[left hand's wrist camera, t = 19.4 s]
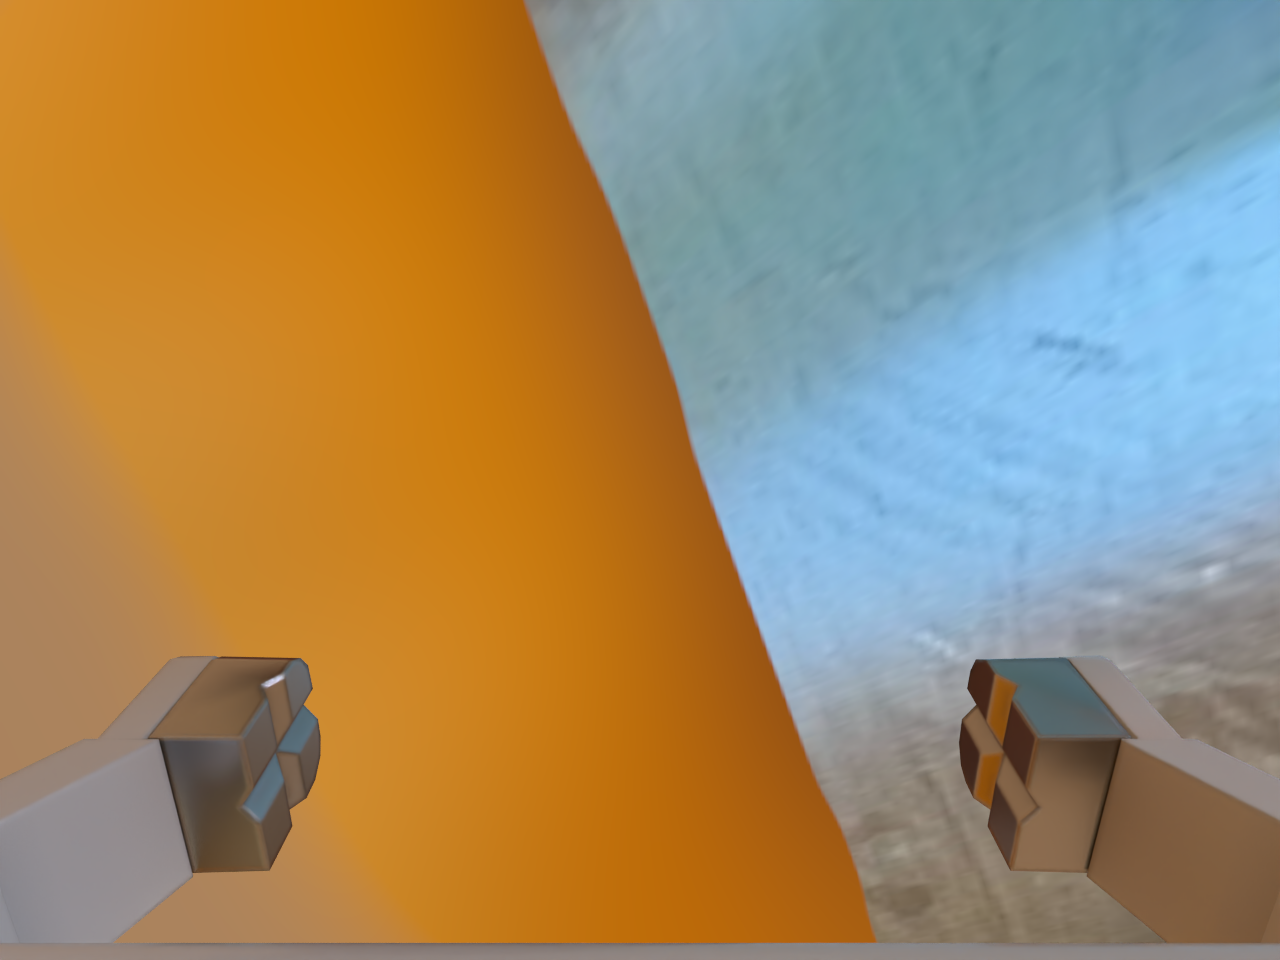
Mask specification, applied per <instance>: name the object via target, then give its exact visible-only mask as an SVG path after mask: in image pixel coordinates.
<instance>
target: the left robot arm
mask: <svg viewBox="0 0 1280 960" xmlns="http://www.w3.org/2000/svg"><path fill="white" fill-rule="evenodd" d="M312 689H313V688H312V683H311V678H310V673H309V668H308V665H307V664H306V663H305V662H304V661H303V660H302V659H301V658H264V657H216V656H189V657H177V658H174V659H170V660H169V661H168V662H167V663H166V664H165V665H164V667H163V668H162V669H161V670H160V671H159V672H158V673H157V674H156V675H155V676H154V678H153V679H152V680H151V681H150V682H149V683H148V684H147V685H146V686H145V687H144V689H143V690H142V691H141V692H140V693H139V694H138V695H137V696H136V697H135V698H134V699H133V701H132V702H131V703H130V704H129V705H128V706H127V707H126V708H125V709H124V710H123V712H122V713H121V714H120V715H119V716H118V717H117V718H116V719H115V720H114V722H113V723H112V724H111V725H110V726H109V727H108V728H107V729H106V730H105V731H104V732H103V734H102V735H101V736H100V737H99V738H98V739H83V740H81V741H79V742H77V743H75V744H73V745H71V746H68V747H66V748H64V749H62V750H60V751H58V752H56V753H54V754H52V755H50V756H48V757H46V758H44V759H42V760H39V761H37V762H35V763H33V764H31V765H29V766H27V767H25V768H23V769H21V770H19V771H17V772H15V773H13V774H10V775H8V776H7V777H4V778H2V779H0V960H1280V779H1278V778H1276V777H1273V776H1271V775H1269V774H1267V773H1265V772H1263V771H1261V770H1259V769H1257V768H1255V767H1253V766H1251V765H1249V764H1247V763H1245V762H1242V761H1240V760H1238V759H1236V758H1234V757H1232V756H1230V755H1228V754H1226V753H1224V752H1222V751H1220V750H1218V749H1216V748H1214V747H1212V746H1209V745H1207V744H1205V743H1203V742H1201V741H1199V740H1197V739H1182V738H1181V737H1180V736H1179V735H1178V734H1177V732H1176V731H1175V730H1174V729H1173V728H1172V727H1171V726H1170V725H1169V724H1168V723H1167V721H1166V720H1165V719H1164V718H1163V717H1162V716H1161V715H1160V714H1159V713H1158V712H1157V710H1156V709H1155V708H1154V707H1153V706H1152V705H1151V704H1150V703H1149V702H1148V701H1147V699H1146V698H1145V697H1144V696H1143V695H1142V694H1141V693H1140V692H1139V691H1138V690H1137V688H1136V687H1135V686H1134V685H1133V684H1132V683H1131V682H1130V681H1129V680H1128V679H1127V677H1126V676H1125V675H1124V674H1123V673H1122V672H1121V671H1120V670H1119V669H1118V668H1117V666H1116V665H1115V664H1114V663H1113V662H1112V661H1111V660H1109V659H1107V658H1104V657H1102V656H1081V657H1059V658H1025V659H977V660H976V661H975V663H974V665H973V667H972V669H971V671H970V677H969V682H968V687H967V689H968V691H969V692H970V694H971V696H972V698H973V699H974V701H975V703H976V704H977V705H976V706H975V707H974V708H973V709H972V710H971V711H970V712H969V713H968V714H967V715H966V716H965V717H964V718H963V719H962V724H961V732H960V740H959V747H960V759H961V767H962V770H963V774H964V777H965V781H966V783H967V785H968V788H969V790H970V792H971V794H972V796H973V798H974V799H976V800H977V801H979V802H980V803H982V804H983V805H984V806H986V807H987V808H989V809H990V816H989V822H988V828H989V830H990V832H991V834H992V835H993V837H994V839H995V841H996V843H997V845H998V847H999V849H1000V851H1001V853H1002V855H1003V857H1004V859H1005V861H1006V863H1007V865H1008V867H1009V869H1010V870H1011V871H1041V872H1077V873H1087V877H1088V878H1089V879H1091V880H1092V881H1093V882H1094V883H1096V884H1097V885H1098V886H1099V887H1100V888H1102V889H1103V890H1104V891H1105V892H1107V893H1108V894H1109V895H1110V896H1111V897H1113V898H1114V899H1115V900H1116V901H1117V902H1119V903H1120V904H1121V905H1122V906H1124V907H1125V908H1126V909H1127V910H1128V911H1130V912H1131V913H1132V914H1133V915H1134V916H1136V917H1137V918H1138V919H1139V920H1141V921H1142V922H1143V923H1144V924H1145V925H1147V926H1148V927H1149V928H1150V929H1151V930H1153V931H1154V932H1155V933H1156V934H1158V935H1159V936H1160V937H1161V938H1162V939H1164V940H1165V941H1166V942H1167V943H113V942H114V941H115V940H117V939H118V938H119V937H120V936H121V935H123V934H124V933H125V932H126V931H128V930H129V929H130V928H131V927H132V926H134V925H135V924H136V923H137V922H139V921H140V920H141V919H142V918H143V917H145V916H146V915H147V914H148V913H149V912H151V911H152V910H153V909H154V908H156V907H157V906H158V905H159V904H160V903H162V902H163V901H164V900H165V899H167V898H168V897H169V896H170V895H171V894H173V893H174V892H175V891H176V890H177V889H179V888H180V887H181V886H182V885H184V884H185V883H186V882H187V881H188V880H190V879H191V878H192V877H193V874H192V873H202V872H237V871H269V870H270V869H271V867H272V865H273V863H274V861H275V859H276V857H277V855H278V853H279V851H280V849H281V847H282V845H283V843H284V841H285V839H286V837H287V835H288V833H289V832H290V830H291V828H292V822H291V816H290V809H291V808H293V807H294V806H296V805H297V804H298V803H300V802H301V801H303V800H304V799H306V798H307V796H308V794H309V792H310V789H311V787H312V785H313V783H314V781H315V778H316V773H317V769H318V764H319V760H320V730H319V724H318V719H317V718H316V717H315V716H314V715H313V714H312V713H311V712H310V711H309V710H308V709H307V708H306V707H305V706H304V705H303V704H304V703H305V701H306V699H307V698H308V696H309V694H310V692H311V691H312Z"/></svg>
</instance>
